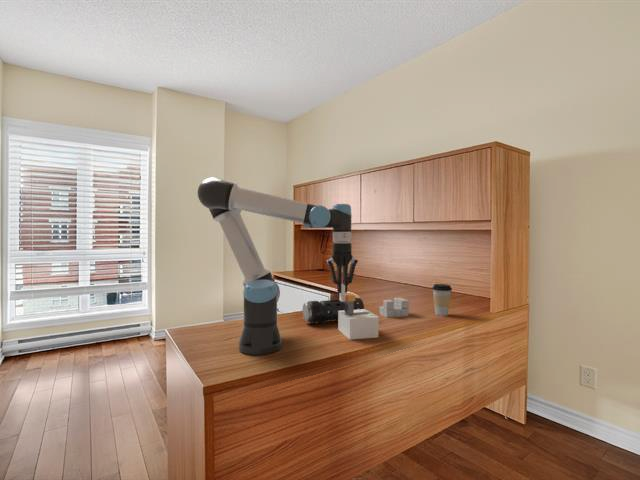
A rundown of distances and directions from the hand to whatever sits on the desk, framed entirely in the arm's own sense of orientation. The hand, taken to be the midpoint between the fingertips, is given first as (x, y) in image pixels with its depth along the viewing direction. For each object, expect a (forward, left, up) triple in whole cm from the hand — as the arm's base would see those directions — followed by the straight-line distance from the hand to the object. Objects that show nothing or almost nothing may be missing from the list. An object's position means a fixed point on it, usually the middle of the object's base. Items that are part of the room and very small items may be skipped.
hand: (342, 300), depth 132 cm
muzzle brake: (+3, +20, -14) cm, 25 cm away
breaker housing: (+7, 0, -14) cm, 15 cm away
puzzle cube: (+36, +26, -14) cm, 47 cm away
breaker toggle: (+3, 0, -5) cm, 6 cm away
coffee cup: (+60, +18, -14) cm, 64 cm away
